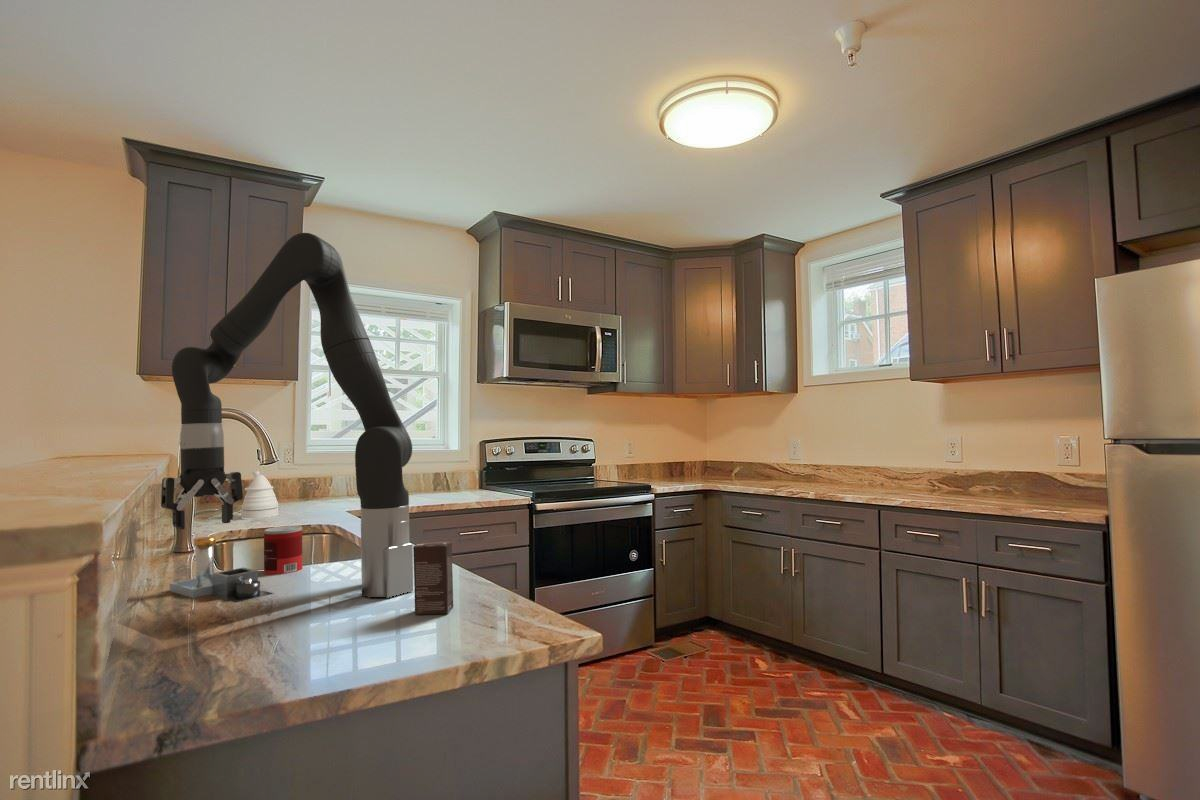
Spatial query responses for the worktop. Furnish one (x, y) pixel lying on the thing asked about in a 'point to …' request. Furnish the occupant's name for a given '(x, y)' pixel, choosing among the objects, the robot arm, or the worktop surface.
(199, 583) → the lock pin
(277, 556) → the canned food
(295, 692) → the worktop surface
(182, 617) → the worktop surface
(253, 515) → the honey pot
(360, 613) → the worktop surface
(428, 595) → the box
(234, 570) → the pulley bracket
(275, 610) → the worktop surface
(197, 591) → the tray
